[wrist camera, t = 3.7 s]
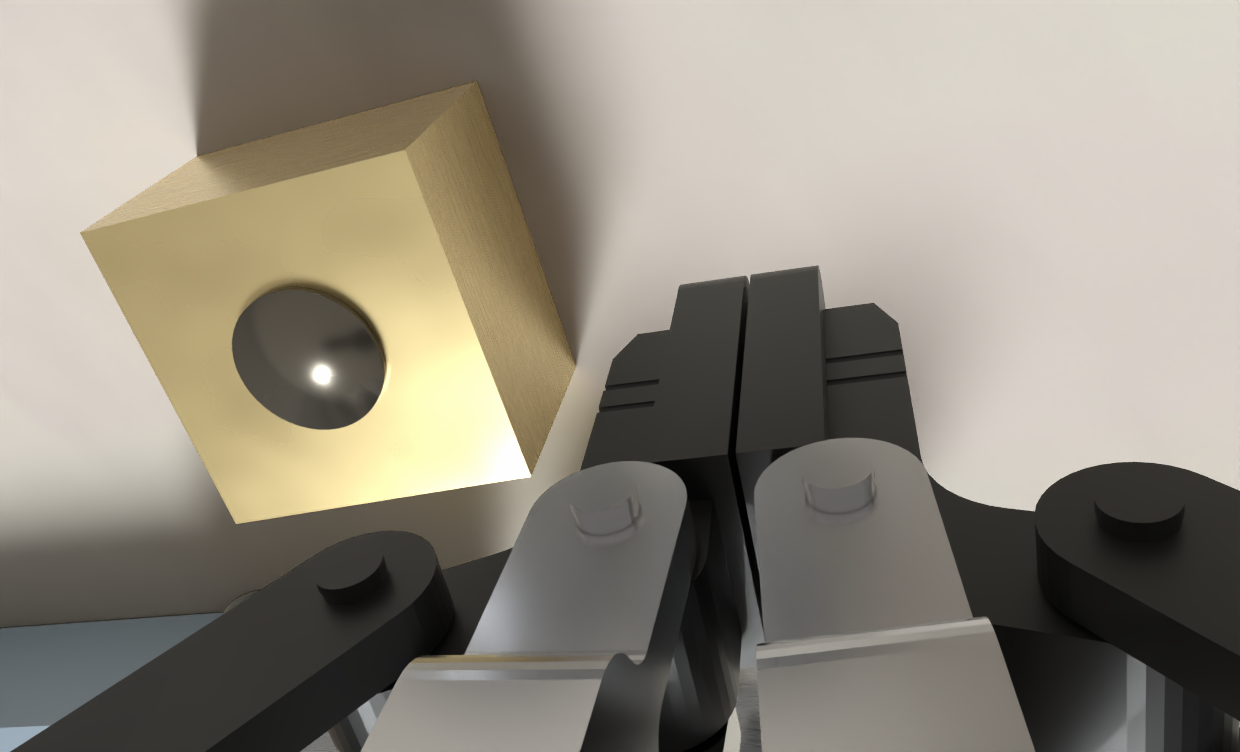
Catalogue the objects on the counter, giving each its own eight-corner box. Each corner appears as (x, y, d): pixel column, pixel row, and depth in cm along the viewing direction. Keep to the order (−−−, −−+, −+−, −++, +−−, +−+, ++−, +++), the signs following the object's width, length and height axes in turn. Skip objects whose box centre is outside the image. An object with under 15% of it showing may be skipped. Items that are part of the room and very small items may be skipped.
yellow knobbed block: (479, 77, 17) (400, 153, 14) (577, 361, 19) (528, 482, 16) (202, 153, 18) (73, 236, 15) (322, 409, 21) (231, 529, 17)
